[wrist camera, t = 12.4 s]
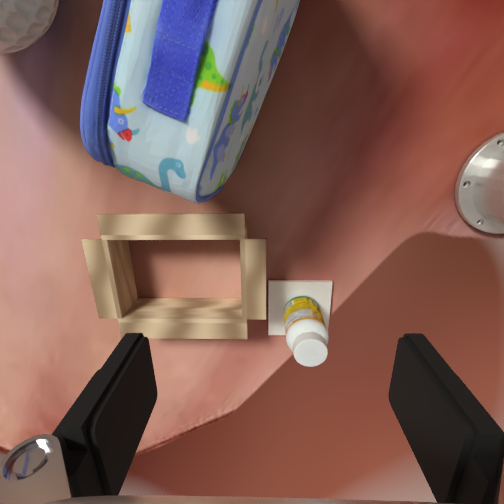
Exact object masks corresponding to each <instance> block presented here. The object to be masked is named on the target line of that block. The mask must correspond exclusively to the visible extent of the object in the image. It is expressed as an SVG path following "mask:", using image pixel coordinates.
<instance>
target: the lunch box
mask: <svg viewBox="0 0 504 504" xmlns="http://www.w3.org/2000/svg"><path fill="white" fill-rule="evenodd" d="M299 2H300V0H104V1H103V6H102V10H101V14H100V18H99V22H98V27H97V31H96V35H95V39H94V43H93V48H92V52H91V57H90V61H89V66H88V70H87V75H86V80H85V85H84V90H83V95H82V102H81V111H80V131H81V138H82V141H83V145H84V147H85V149H86V151H87V152H88V153H89V154H90V155H91V156H92V157H93V158H94V159H95V160H97V161H100V162H102V163H103V164H105V165H108V166H112V167H116V168H117V169H118V170H119V171H120V172H121V173H122V174H124V175H126V176H128V177H131V178H134V179H137V180H139V181H142V182H145V183H147V184H150V185H152V186H154V187H156V188H159V189H161V190H163V191H165V192H168V193H171V194H175V195H178V196H180V197H182V198H184V199H186V200H189V201H191V202H193V203H197V204H199V203H201V202H205V201H207V200H209V199H211V198H212V197H214V196H215V195H216V194H217V193H218V192H220V191H221V190H222V188H223V187H224V185H225V182H226V181H227V180H228V178H229V177H230V175H231V174H232V172H233V171H234V169H235V167H236V165H237V163H238V161H239V159H240V157H241V154H242V152H243V150H244V147H245V145H246V143H247V140H248V138H249V135H250V133H251V131H252V128H253V126H254V124H255V121H256V119H257V116H258V114H259V111H260V109H261V106H262V103H263V101H264V98H265V96H266V93H267V91H268V88H269V86H270V83H271V81H272V79H273V76H274V74H275V71H276V69H277V66H278V63H279V61H280V58H281V55H282V53H283V50H284V47H285V44H286V42H287V39H288V36H289V33H290V31H291V28H292V25H293V22H294V19H295V16H296V12H297V9H298V6H299Z"/></svg>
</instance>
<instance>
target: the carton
mask: <svg viewBox="0 0 504 504" xmlns="http://www.w3.org/2000/svg"><path fill="white" fill-rule="evenodd" d="M97 218H98V223H99V228H100V233H101V238H102V239H83V240H82V244H83V249H84V253H85V258H86V262H87V267H88V271H89V275H90V280H91V284H92V289H93V293H94V298H95V302H96V307H97V311H98V315H99V318H105V319H118V323H119V328H120V333H121V338H123V336H124V335H125V334H126V333H143V335H144V337H148V338H172V339H247V319H257V320H266V239H247V222H245V215H244V213H201V214H97ZM128 240H240V260H241V293H242V298H138V295H137V289H136V283H135V277H134V271H133V265H132V259H131V253H130V247H129V241H128Z"/></svg>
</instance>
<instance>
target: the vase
mask: <svg viewBox="0 0 504 504" xmlns="http://www.w3.org/2000/svg"><path fill="white" fill-rule="evenodd" d="M58 3H59V0H0V55H3V54H9V53H14V52H18V51H20V50H23V49H25V48H27V47H29V46H30V45H31V44H33V43H34V42H36V41H37V40H38V39H39V38H41V37H42V36H43V35H44V34H45V33H46V31H47V30H48V29H49V27H50V26H51V24H52V22H53V20H54V17H55V15H56V12H57V8H58Z"/></svg>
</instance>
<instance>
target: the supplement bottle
mask: <svg viewBox="0 0 504 504" xmlns="http://www.w3.org/2000/svg"><path fill="white" fill-rule="evenodd" d="M283 317H284V325H285V333H286V341H287V344H288V346H289V348H290V349H291V350H292V351H293V353H294V357H295V359H296V361H297V362H298V363H300V364H301V365H304V366H310V367H312V366H317V365H319V364H321V363H323V362H324V360H325V359H326V358H327V355H328V350H327V344H328V340H329V335H328V331H327V328H326V325H325V322H324V319H323V316H322V313H321V310H320V307H319V305H318V303H317V301H316V300H314V299H313V298H312V297H310V296H308V295H295V296H293V297H291V298H290V299H288V300H287V302H286V303H285V305H284V307H283Z"/></svg>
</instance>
